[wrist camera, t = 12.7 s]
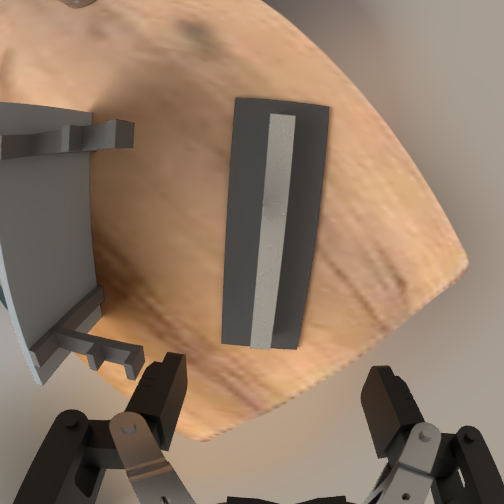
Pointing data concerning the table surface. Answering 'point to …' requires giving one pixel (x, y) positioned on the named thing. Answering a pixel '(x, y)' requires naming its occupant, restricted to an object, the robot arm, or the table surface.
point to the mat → (250, 215)
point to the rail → (272, 227)
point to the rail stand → (54, 235)
